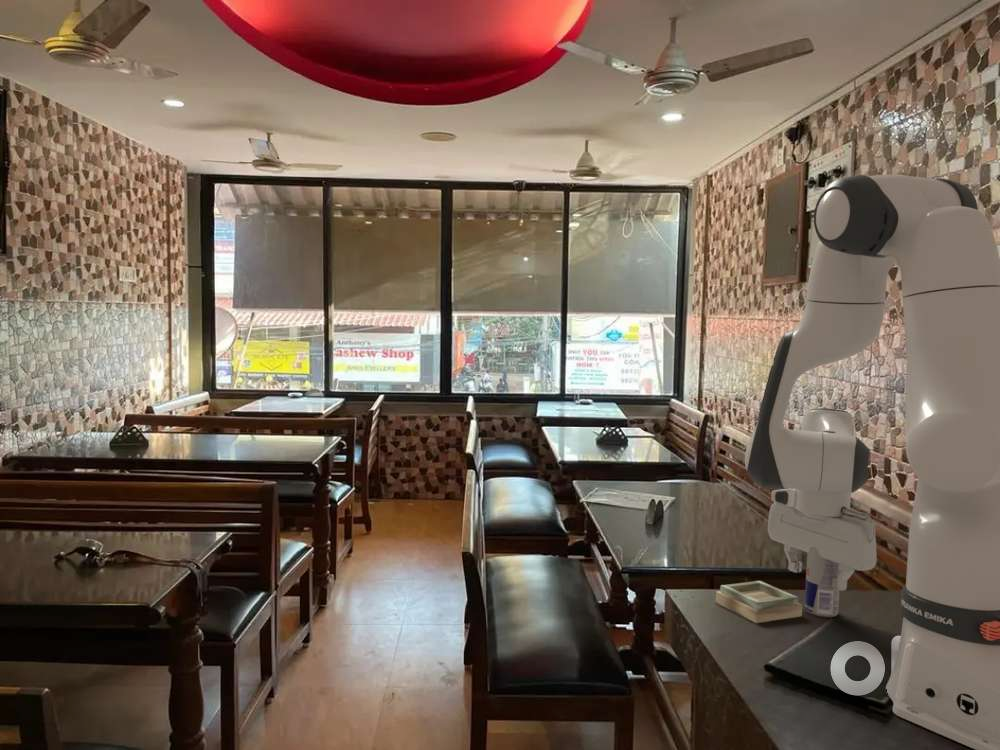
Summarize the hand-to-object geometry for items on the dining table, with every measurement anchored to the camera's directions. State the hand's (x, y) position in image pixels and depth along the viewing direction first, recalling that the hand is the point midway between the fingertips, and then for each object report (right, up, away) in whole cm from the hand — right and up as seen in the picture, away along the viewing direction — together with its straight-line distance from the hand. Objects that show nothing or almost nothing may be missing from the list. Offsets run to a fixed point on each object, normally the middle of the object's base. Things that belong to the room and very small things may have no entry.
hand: (816, 579), depth 124 cm
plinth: (-10, -5, 0) cm, 11 cm away
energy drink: (+1, -6, 0) cm, 6 cm away
